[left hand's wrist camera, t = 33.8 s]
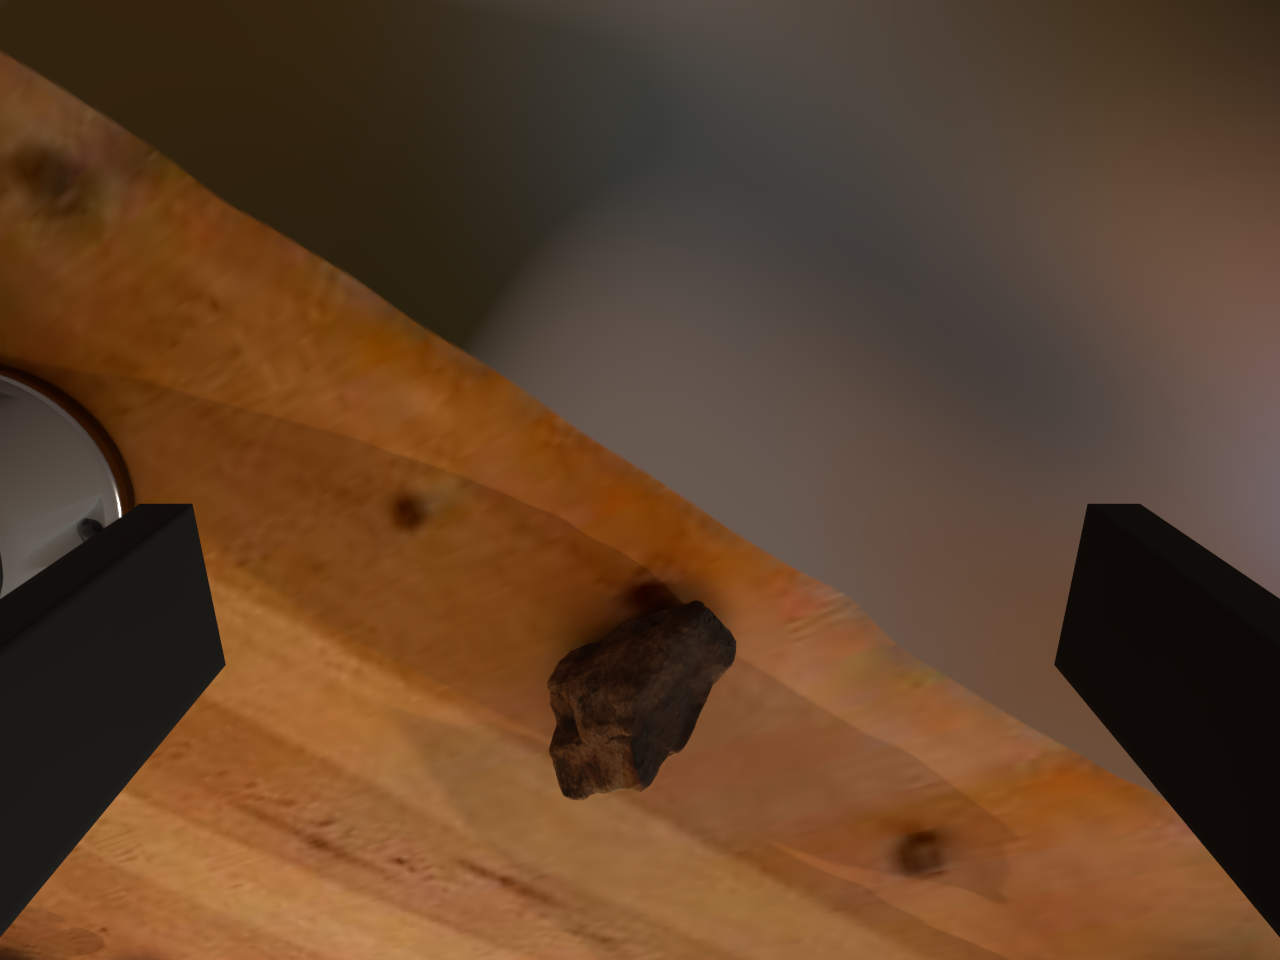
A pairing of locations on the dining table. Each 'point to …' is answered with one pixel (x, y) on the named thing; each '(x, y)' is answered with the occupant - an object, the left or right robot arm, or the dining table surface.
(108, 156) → the dining table surface
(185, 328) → the dining table surface
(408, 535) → the dining table surface
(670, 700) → the decorative rock
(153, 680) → the left robot arm
